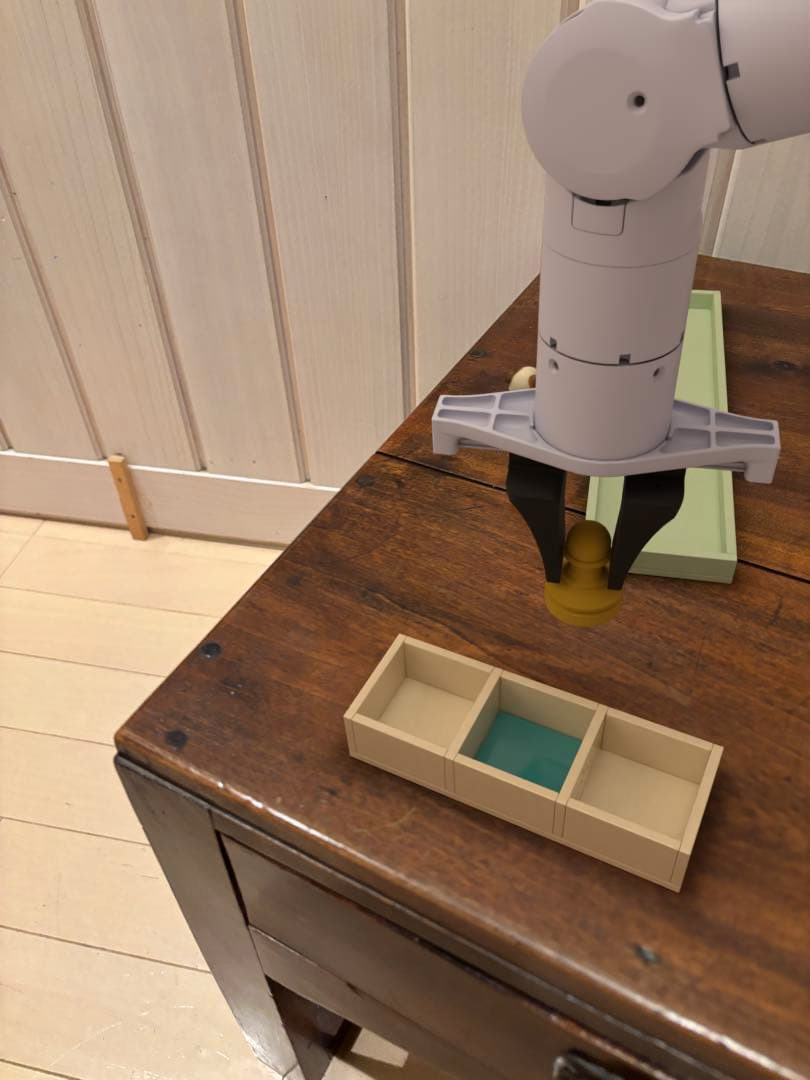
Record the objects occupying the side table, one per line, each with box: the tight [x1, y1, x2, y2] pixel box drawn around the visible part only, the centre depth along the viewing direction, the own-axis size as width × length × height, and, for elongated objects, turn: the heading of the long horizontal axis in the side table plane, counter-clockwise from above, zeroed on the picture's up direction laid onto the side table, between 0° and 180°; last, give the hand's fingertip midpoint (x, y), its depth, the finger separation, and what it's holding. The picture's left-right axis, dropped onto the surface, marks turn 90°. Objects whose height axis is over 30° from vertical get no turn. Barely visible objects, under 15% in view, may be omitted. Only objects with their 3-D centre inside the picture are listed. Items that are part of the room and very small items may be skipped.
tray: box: [584, 289, 738, 585], centre depth 69 cm, size 34×9×2 cm, turn 168°
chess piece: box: [544, 519, 626, 628], centre depth 45 cm, size 4×4×5 cm
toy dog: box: [504, 365, 536, 391], centre depth 69 cm, size 4×5×5 cm
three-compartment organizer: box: [342, 633, 725, 893], centre depth 47 cm, size 18×6×4 cm, turn 63°
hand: (585, 572), depth 46 cm, fingers closed on chess piece, 2 cm apart
